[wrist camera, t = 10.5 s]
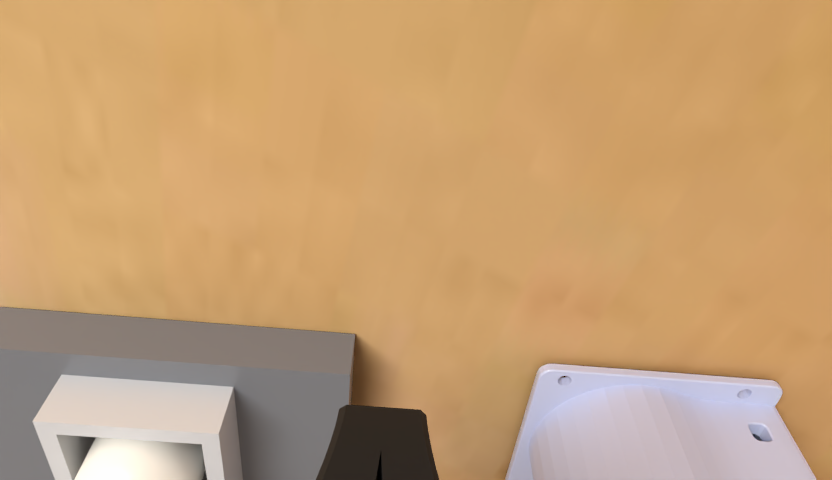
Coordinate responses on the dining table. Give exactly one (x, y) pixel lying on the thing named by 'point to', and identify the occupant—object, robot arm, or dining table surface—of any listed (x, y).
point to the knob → (142, 460)
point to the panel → (168, 392)
